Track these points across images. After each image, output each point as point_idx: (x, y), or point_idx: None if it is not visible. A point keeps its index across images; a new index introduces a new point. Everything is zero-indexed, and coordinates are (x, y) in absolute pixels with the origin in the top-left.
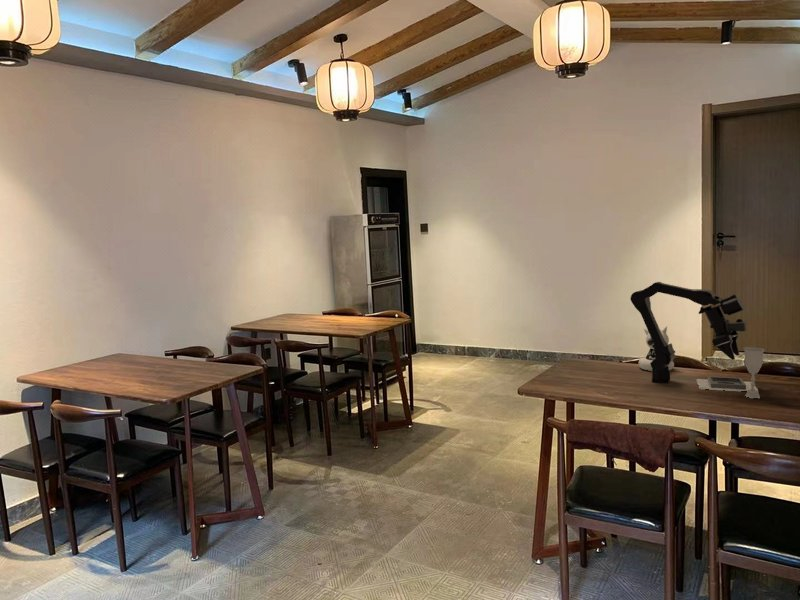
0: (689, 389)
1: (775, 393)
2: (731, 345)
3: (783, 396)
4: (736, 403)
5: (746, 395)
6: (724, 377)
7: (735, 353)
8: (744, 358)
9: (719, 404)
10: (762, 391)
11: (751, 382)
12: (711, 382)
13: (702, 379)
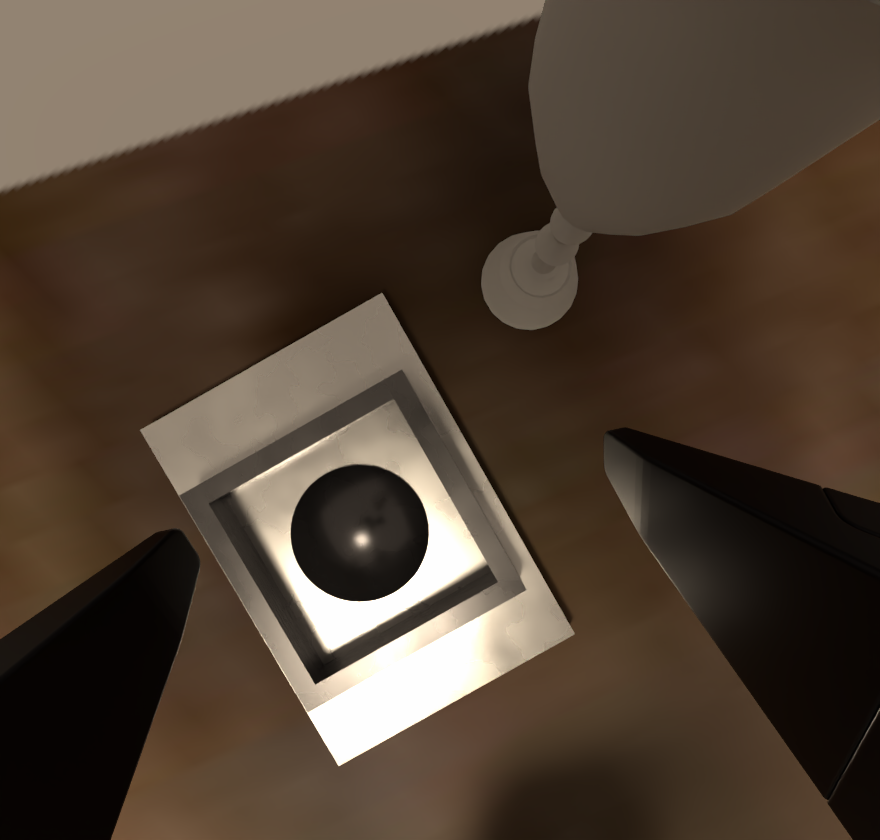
0: (622, 673)
1: (327, 202)
2: (28, 833)
3: (375, 133)
4: (770, 291)
5: (562, 307)
6: (251, 600)
7: (180, 595)
8: (779, 183)
9: (868, 360)
10: (332, 288)
11: (569, 247)
12: (491, 601)
13: (327, 726)
